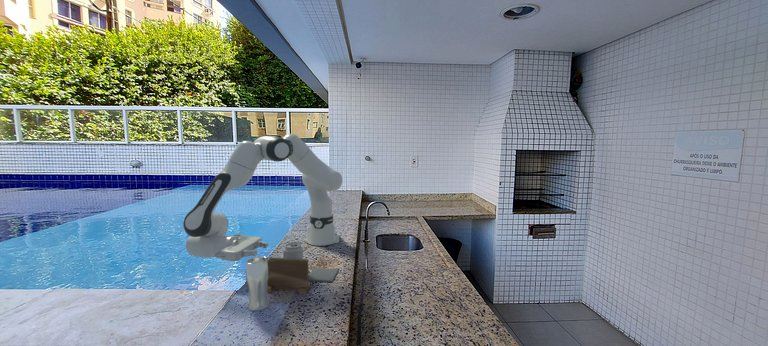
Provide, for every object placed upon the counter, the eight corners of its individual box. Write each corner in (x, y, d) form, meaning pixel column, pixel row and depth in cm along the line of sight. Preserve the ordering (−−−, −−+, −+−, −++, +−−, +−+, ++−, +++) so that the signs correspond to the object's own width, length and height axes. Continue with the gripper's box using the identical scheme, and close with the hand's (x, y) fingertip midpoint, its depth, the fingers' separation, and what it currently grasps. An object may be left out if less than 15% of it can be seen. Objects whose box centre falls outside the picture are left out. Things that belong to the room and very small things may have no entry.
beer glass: (247, 313, 93) (246, 265, 92) (245, 303, 99) (244, 257, 98) (271, 308, 96) (271, 262, 95) (268, 298, 102) (268, 254, 101)
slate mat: (314, 269, 127) (314, 268, 127) (338, 270, 127) (338, 269, 127) (305, 280, 116) (305, 279, 116) (332, 282, 116) (332, 280, 116)
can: (305, 271, 126) (305, 242, 125) (298, 278, 118) (298, 248, 117) (287, 269, 126) (287, 241, 125) (279, 277, 119) (279, 247, 118)
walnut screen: (272, 284, 113) (272, 255, 112) (310, 286, 112) (310, 257, 111) (265, 292, 107) (264, 261, 106) (304, 294, 106) (304, 263, 105)
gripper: (212, 247, 112) (249, 249, 111) (241, 232, 133) (273, 234, 132) (212, 264, 113) (249, 266, 112) (241, 247, 133) (273, 248, 132)
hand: (262, 249), depth 122 cm, fingers open, 8 cm apart
